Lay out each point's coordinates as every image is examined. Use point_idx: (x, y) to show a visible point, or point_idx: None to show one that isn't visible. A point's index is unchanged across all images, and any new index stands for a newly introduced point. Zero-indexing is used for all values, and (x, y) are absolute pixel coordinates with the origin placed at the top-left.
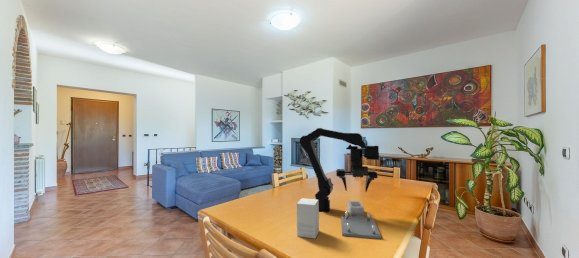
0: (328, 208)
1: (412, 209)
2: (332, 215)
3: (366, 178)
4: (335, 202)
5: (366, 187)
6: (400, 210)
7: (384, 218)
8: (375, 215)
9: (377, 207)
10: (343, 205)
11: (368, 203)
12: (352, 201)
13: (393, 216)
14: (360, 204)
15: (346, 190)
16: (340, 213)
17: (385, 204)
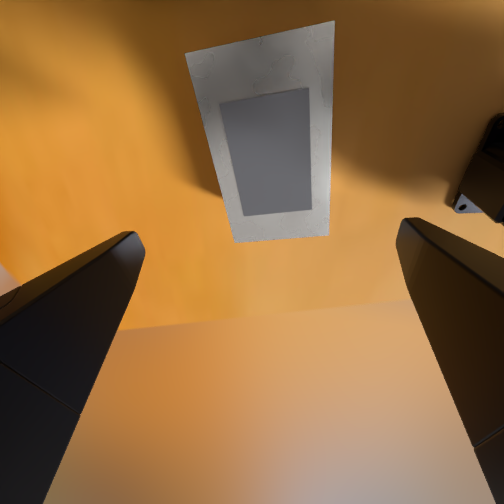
0: (493, 150)
1: (15, 269)
2: (487, 31)
3: (19, 456)
4: (375, 294)
5: (80, 265)
6: (52, 249)
7: (76, 96)
8: (143, 141)
9: (159, 266)
10: (336, 263)
11: (207, 303)
12: (293, 222)
13: (44, 153)
14: (227, 158)
15: (408, 218)
16: (390, 112)
17: (135, 303)
